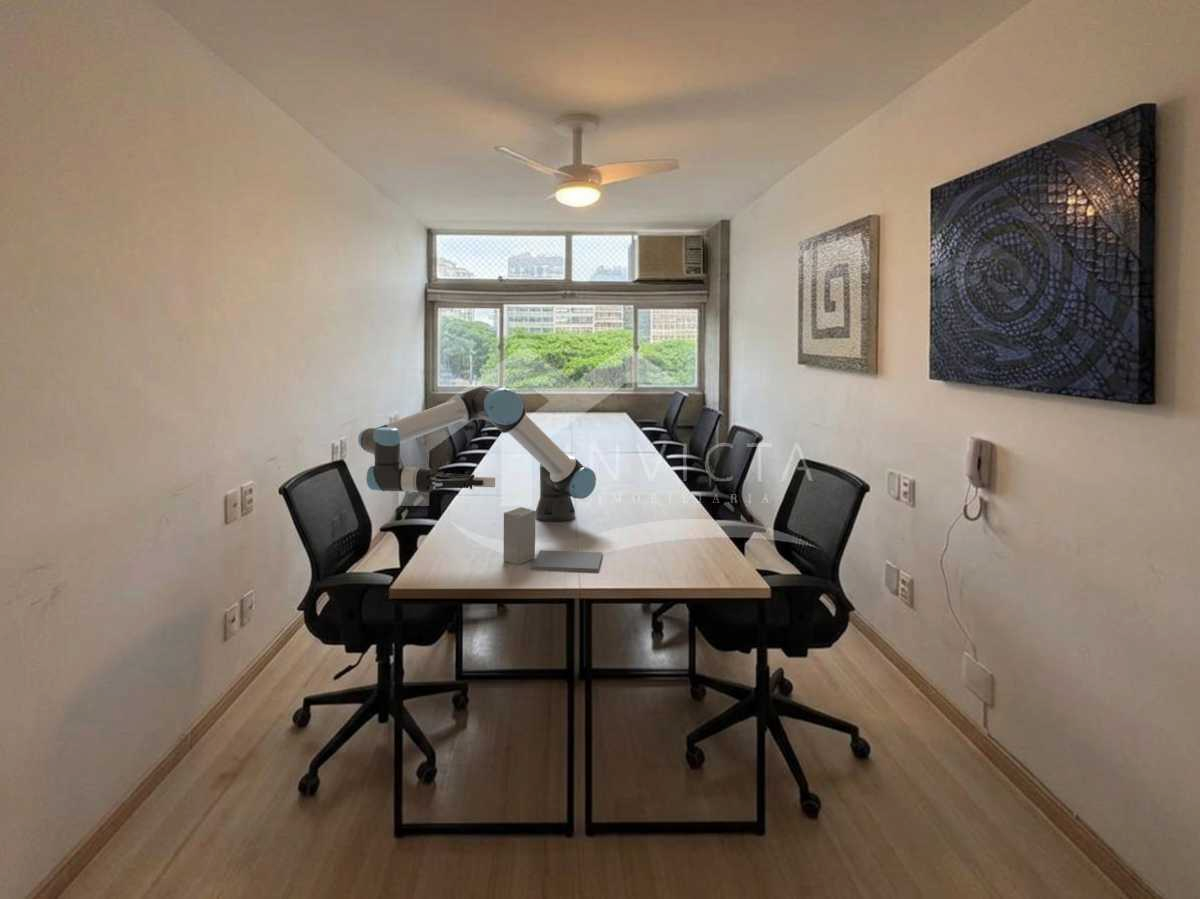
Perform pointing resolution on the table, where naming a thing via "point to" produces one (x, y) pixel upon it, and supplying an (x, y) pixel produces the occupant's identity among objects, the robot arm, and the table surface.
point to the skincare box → (519, 535)
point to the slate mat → (567, 561)
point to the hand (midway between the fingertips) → (494, 482)
